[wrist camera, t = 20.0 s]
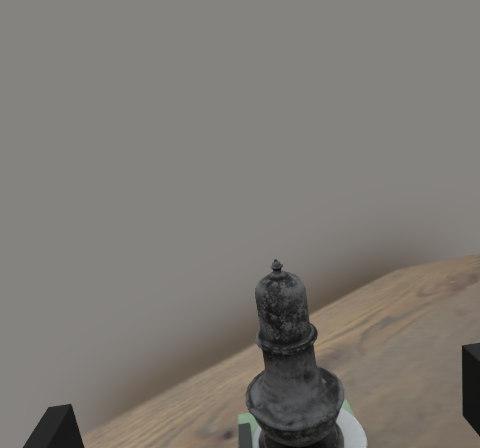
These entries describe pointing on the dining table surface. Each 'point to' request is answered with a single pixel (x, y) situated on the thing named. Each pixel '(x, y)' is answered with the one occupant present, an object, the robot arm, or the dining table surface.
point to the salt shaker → (291, 371)
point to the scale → (349, 425)
